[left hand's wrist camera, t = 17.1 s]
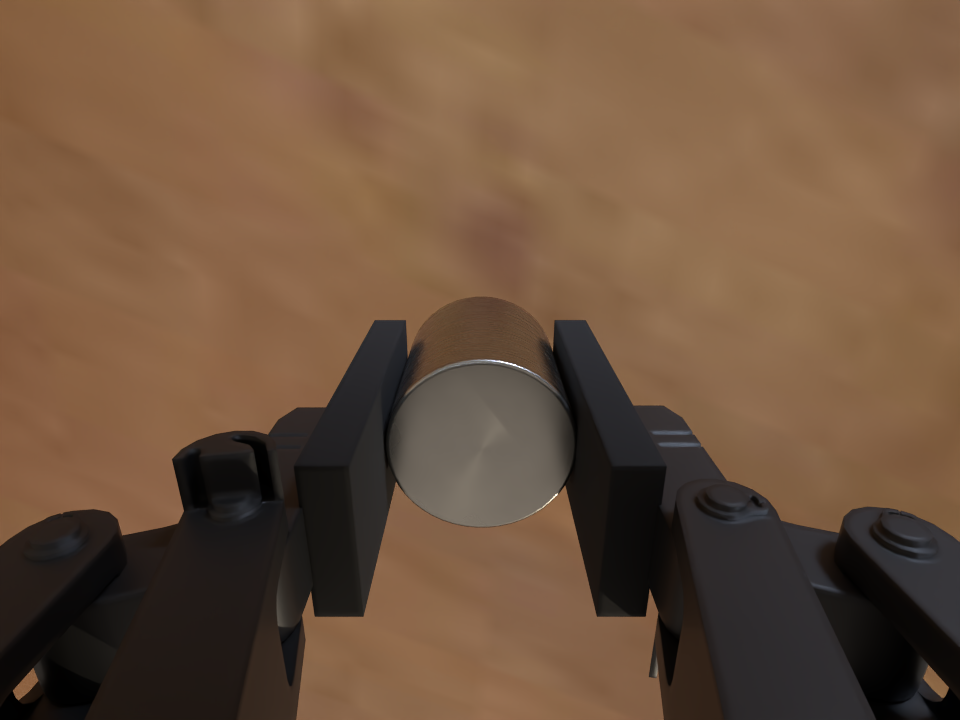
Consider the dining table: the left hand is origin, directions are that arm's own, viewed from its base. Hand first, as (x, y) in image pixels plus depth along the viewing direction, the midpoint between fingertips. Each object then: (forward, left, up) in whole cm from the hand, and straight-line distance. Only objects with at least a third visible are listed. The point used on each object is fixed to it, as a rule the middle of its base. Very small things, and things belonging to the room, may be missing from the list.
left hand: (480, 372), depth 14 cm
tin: (0, 0, 0) cm, 0 cm away
